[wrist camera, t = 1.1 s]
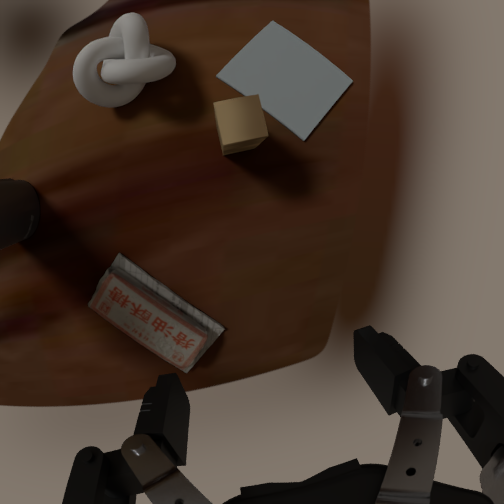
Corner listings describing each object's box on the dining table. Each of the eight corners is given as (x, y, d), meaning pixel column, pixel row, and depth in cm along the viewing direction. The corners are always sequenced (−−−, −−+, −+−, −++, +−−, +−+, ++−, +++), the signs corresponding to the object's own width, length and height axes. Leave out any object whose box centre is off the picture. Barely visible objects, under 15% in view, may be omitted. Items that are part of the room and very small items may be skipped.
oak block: (223, 155, 34) (223, 145, 23) (216, 125, 33) (213, 102, 22) (254, 148, 34) (268, 135, 23) (247, 118, 33) (258, 94, 22)
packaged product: (78, 316, 33) (108, 260, 31) (91, 302, 37) (121, 250, 36) (185, 387, 37) (226, 342, 35) (188, 367, 41) (225, 325, 40)
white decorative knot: (123, 133, 32) (95, 122, 23) (78, 81, 29) (46, 63, 20) (190, 75, 31) (181, 46, 22) (138, 27, 28) (120, -4, 19)
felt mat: (216, 77, 31) (216, 76, 31) (272, 21, 29) (272, 20, 29) (303, 140, 34) (304, 140, 34) (351, 81, 33) (353, 80, 32)
